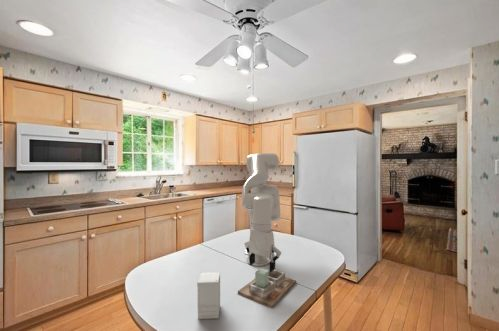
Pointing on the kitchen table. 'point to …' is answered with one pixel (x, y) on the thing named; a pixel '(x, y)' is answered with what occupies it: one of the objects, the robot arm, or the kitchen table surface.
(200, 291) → the supplement box
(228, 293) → the kitchen table surface
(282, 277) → the socket board
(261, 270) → the plug
